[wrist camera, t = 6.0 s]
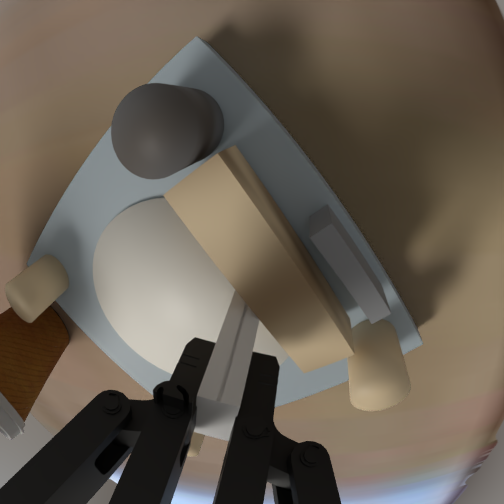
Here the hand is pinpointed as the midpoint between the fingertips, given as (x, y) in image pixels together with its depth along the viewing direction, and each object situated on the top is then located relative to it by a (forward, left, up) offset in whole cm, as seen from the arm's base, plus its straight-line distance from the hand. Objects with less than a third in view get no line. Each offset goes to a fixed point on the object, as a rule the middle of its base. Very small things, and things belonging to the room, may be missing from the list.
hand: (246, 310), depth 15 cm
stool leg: (-3, +3, -1) cm, 4 cm away
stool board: (-1, -4, -3) cm, 5 cm away
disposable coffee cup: (-7, -21, -3) cm, 22 cm away
